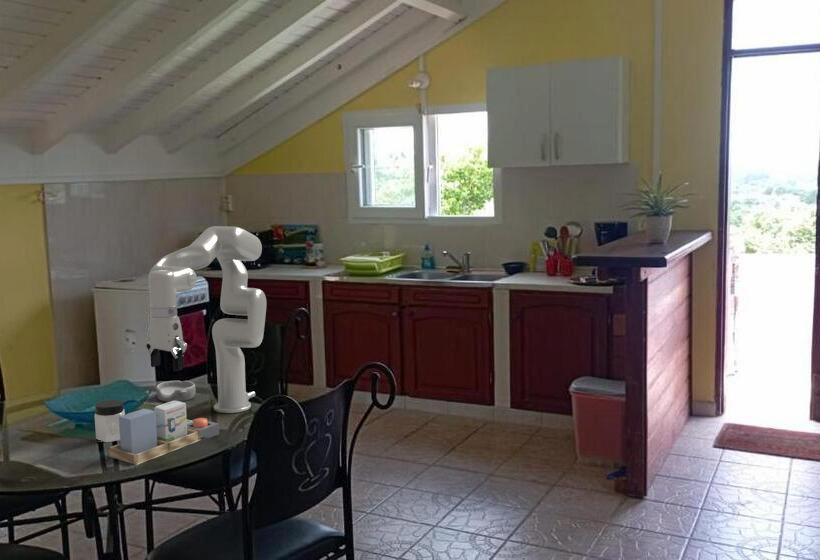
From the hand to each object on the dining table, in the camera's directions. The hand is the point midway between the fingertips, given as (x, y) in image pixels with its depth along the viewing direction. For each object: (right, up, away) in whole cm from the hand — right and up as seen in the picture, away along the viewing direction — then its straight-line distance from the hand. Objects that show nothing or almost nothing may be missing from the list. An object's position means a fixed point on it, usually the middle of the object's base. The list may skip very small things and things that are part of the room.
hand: (166, 368), depth 250 cm
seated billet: (-6, -24, -6) cm, 26 cm away
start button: (+7, -21, +12) cm, 26 cm away
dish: (-12, -17, +54) cm, 58 cm away
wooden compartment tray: (-3, -25, -1) cm, 25 cm away
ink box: (+1, -23, +3) cm, 23 cm away
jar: (-20, -24, +8) cm, 32 cm away
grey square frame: (+7, -23, +12) cm, 27 cm away
